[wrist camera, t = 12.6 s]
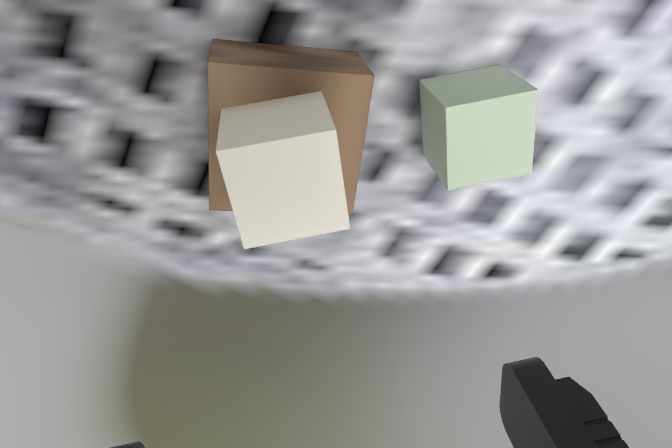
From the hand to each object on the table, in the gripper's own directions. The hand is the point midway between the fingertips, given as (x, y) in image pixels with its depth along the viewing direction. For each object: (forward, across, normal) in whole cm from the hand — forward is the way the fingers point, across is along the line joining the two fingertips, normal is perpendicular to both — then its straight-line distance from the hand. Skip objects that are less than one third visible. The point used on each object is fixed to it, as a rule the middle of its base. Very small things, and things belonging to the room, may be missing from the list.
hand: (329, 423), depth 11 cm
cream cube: (+18, 0, +1) cm, 18 cm away
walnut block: (+22, 0, +1) cm, 23 cm away
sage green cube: (+22, -11, +3) cm, 25 cm away
